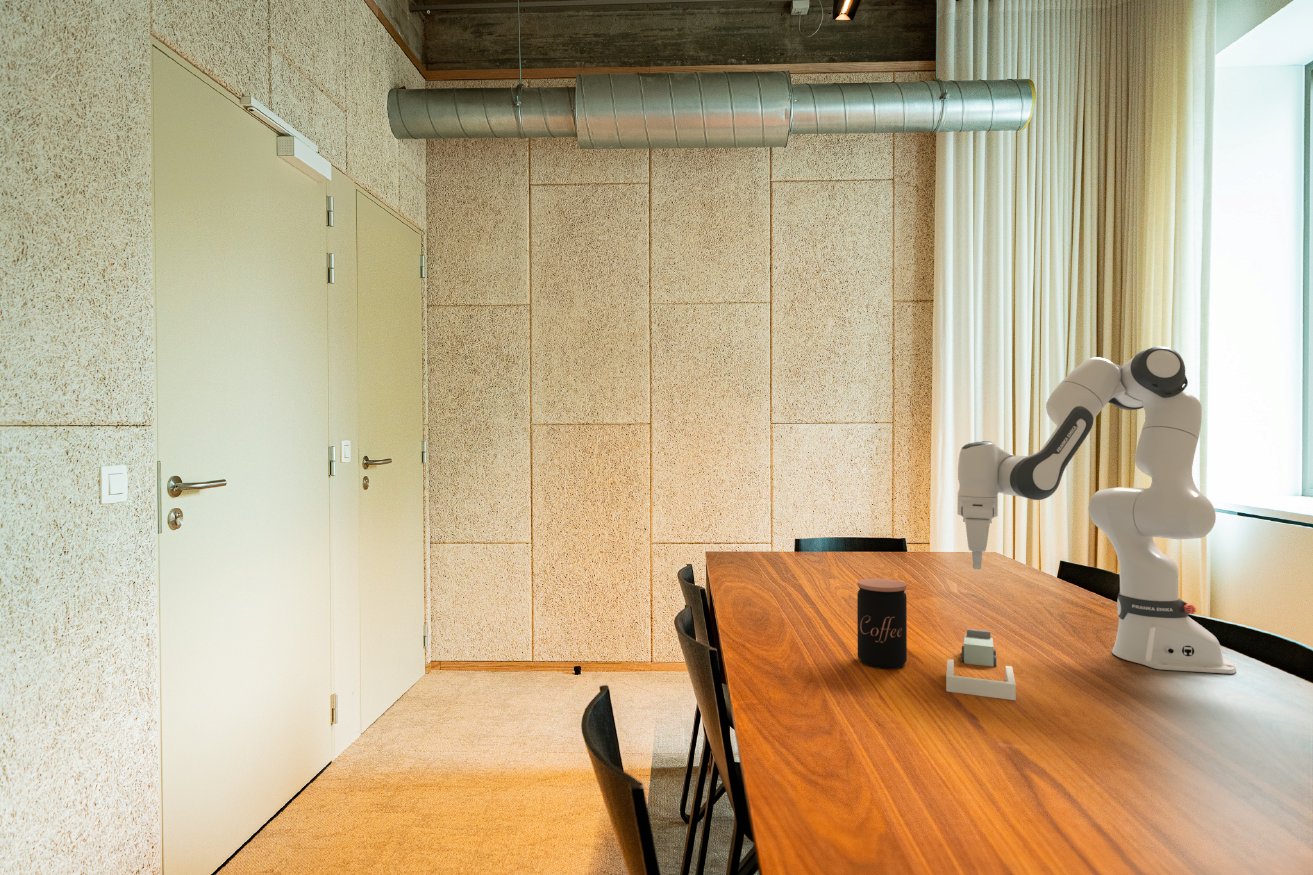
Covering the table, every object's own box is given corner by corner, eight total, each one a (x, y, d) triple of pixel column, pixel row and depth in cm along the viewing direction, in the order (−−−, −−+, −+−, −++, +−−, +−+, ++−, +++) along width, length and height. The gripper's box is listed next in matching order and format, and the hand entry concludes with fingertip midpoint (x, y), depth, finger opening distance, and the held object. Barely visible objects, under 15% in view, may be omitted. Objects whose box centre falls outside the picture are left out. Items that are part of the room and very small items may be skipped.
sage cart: (995, 657, 163) (995, 631, 163) (996, 667, 156) (996, 640, 156) (961, 653, 166) (961, 628, 166) (961, 663, 159) (961, 636, 159)
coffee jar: (852, 665, 157) (852, 584, 157) (862, 653, 166) (862, 576, 167) (903, 672, 152) (902, 589, 152) (910, 659, 161) (910, 580, 162)
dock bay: (1012, 680, 147) (1012, 666, 147) (1015, 700, 136) (1015, 684, 136) (947, 673, 152) (947, 659, 152) (946, 691, 141) (946, 676, 141)
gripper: (963, 504, 181) (963, 558, 181) (962, 510, 162) (962, 571, 162) (990, 506, 178) (990, 560, 178) (992, 512, 160) (992, 573, 159)
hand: (976, 565), depth 170 cm, fingers open, 8 cm apart
